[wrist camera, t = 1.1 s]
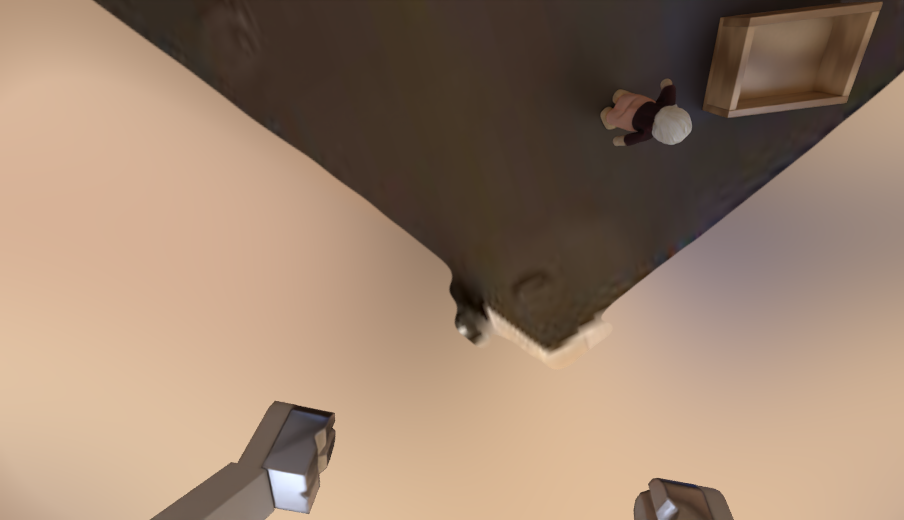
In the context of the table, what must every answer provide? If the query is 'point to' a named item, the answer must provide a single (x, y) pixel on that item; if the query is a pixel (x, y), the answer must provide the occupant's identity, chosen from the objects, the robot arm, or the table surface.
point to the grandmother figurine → (647, 117)
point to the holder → (788, 58)
